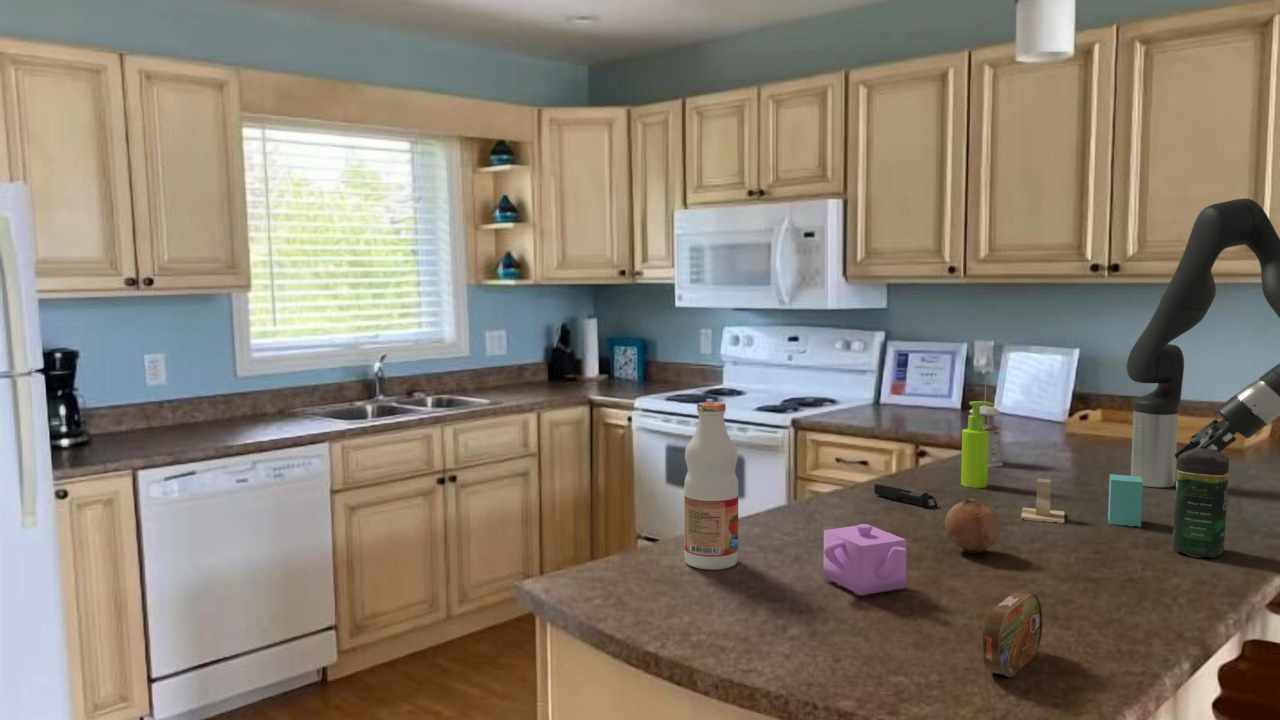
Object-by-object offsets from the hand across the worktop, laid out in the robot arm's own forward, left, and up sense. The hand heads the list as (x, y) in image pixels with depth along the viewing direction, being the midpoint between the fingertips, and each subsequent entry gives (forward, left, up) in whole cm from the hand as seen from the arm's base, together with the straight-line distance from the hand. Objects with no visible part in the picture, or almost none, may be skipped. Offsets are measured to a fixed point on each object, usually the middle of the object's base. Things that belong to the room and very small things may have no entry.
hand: (1180, 463), depth 181 cm
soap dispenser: (-23, -39, -13) cm, 47 cm away
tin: (+82, -26, -13) cm, 87 cm away
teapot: (+61, -49, -13) cm, 79 cm away
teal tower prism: (0, -9, -13) cm, 16 cm away
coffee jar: (+17, +2, -13) cm, 21 cm away
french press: (-52, -40, -13) cm, 67 cm away
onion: (+34, -35, -13) cm, 51 cm away
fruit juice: (+58, -76, -13) cm, 97 cm away
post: (+2, -24, -13) cm, 27 cm away
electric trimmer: (0, -52, -13) cm, 54 cm away
